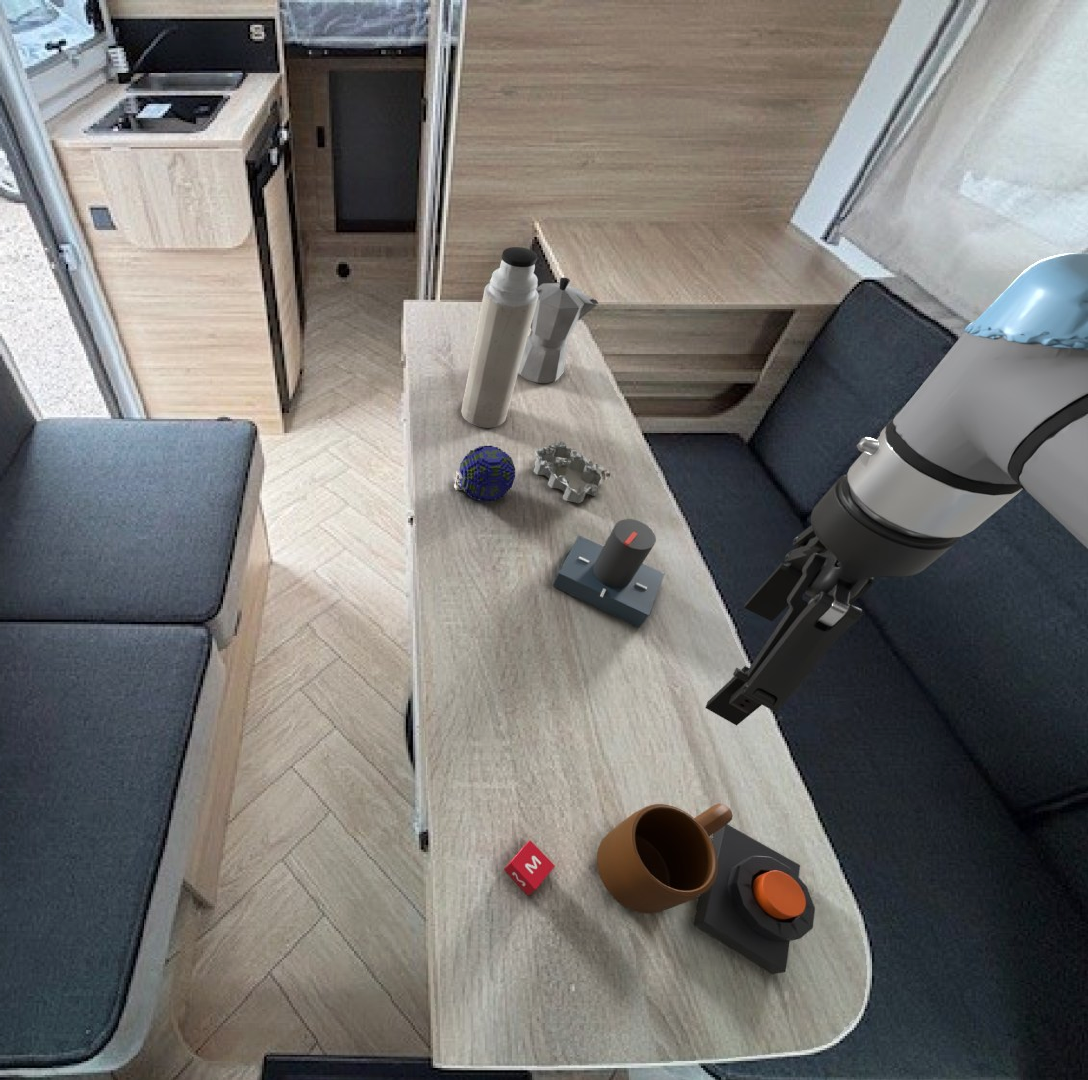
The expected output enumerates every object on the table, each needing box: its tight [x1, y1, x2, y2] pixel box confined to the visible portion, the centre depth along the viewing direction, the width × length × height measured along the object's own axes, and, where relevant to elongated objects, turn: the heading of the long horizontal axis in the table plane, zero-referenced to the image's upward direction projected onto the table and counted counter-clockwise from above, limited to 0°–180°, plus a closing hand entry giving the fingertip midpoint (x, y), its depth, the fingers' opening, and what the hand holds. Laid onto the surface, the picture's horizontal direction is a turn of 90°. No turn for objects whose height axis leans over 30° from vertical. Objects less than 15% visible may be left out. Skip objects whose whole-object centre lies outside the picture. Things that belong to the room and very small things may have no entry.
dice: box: [503, 839, 556, 896], centre depth 57 cm, size 3×3×3 cm
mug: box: [596, 803, 734, 915], centre depth 55 cm, size 12×8×9 cm, turn 118°
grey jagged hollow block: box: [533, 441, 611, 504], centre depth 92 cm, size 11×8×4 cm
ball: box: [453, 445, 516, 502], centre depth 89 cm, size 8×8×8 cm
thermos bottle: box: [461, 246, 539, 429], centre depth 94 cm, size 8×8×28 cm
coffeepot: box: [518, 276, 599, 384], centre depth 107 cm, size 15×9×18 cm, turn 75°
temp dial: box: [593, 518, 657, 588], centre depth 75 cm, size 5×5×8 cm
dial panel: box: [552, 534, 666, 629], centre depth 79 cm, size 12×9×3 cm
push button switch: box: [692, 823, 816, 975], centre depth 55 cm, size 8×10×4 cm
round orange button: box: [753, 871, 806, 919], centre depth 53 cm, size 4×4×2 cm
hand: (741, 659), depth 56 cm, fingers open, 13 cm apart
